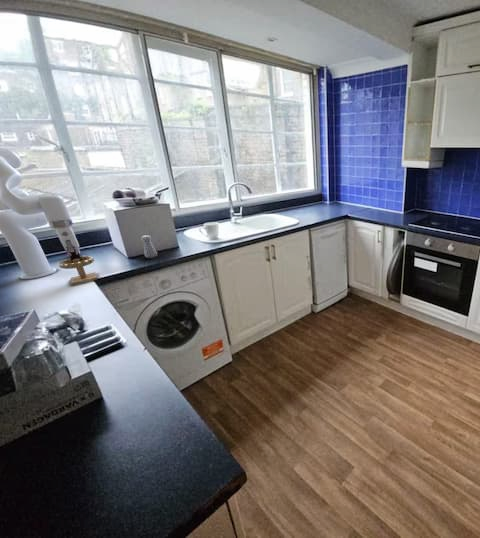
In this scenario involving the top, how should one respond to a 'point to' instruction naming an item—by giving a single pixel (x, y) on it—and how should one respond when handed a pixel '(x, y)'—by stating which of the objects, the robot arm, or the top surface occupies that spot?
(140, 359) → the top surface
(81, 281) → the peg stand
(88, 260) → the ring
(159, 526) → the top surface
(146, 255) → the salt shaker
